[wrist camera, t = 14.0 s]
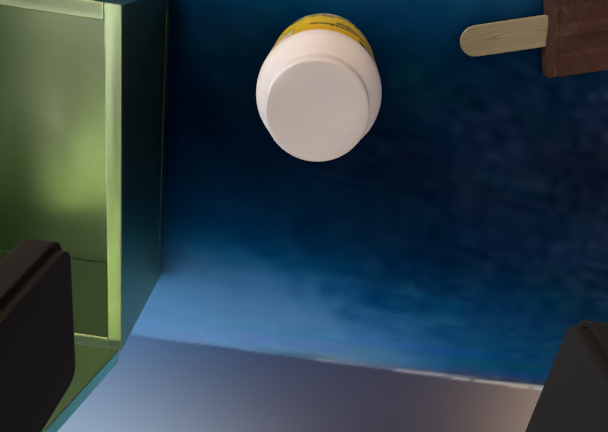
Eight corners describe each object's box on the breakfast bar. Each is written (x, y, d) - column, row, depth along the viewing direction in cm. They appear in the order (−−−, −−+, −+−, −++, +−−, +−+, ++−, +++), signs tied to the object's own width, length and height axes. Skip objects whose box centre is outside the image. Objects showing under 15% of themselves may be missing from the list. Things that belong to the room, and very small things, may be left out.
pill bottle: (394, 56, 35) (418, 103, 25) (329, 133, 37) (327, 204, 27) (313, -12, 34) (305, 8, 24) (251, 72, 36) (219, 123, 26)
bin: (-45, -43, 34) (-161, -37, 26) (171, -11, 34) (121, 4, 26) (-11, 249, 42) (-91, 321, 34) (161, 273, 43) (121, 350, 35)
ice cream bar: (459, 84, 36) (720, 47, 34) (465, 90, 34) (738, 53, 33) (455, -7, 33) (734, -50, 32) (461, -4, 32) (754, -50, 30)
